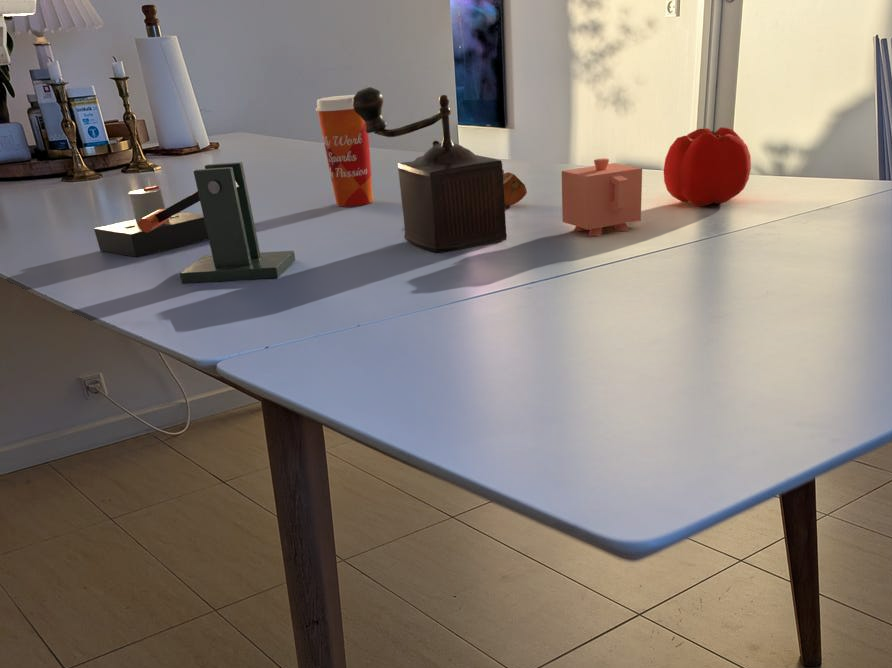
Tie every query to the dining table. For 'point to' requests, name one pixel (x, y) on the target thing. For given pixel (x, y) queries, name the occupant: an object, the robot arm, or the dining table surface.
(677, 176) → the tomato
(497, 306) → the dining table surface
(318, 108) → the coffee cup
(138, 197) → the knob
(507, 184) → the bread roll
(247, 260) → the switch bracket
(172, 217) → the dial panel
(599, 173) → the pink cube teapot
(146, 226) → the lever
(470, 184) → the brown coffee grinder
